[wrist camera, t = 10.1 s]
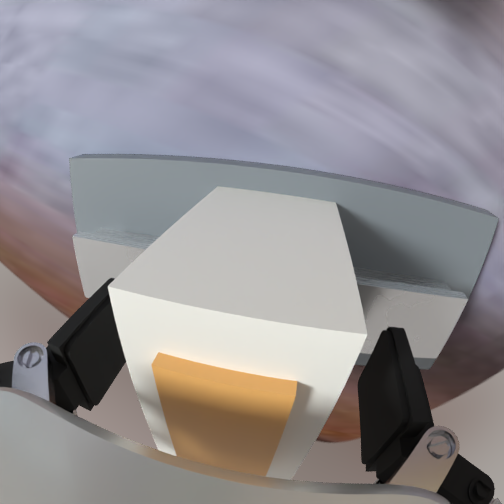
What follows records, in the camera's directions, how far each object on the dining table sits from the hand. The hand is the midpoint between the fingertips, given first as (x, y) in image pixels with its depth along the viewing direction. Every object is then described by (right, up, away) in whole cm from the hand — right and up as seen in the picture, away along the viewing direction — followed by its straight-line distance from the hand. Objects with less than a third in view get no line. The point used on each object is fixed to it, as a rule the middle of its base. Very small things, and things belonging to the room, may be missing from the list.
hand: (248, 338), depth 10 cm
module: (+1, +2, +4) cm, 4 cm away
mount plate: (+1, +2, +5) cm, 6 cm away
